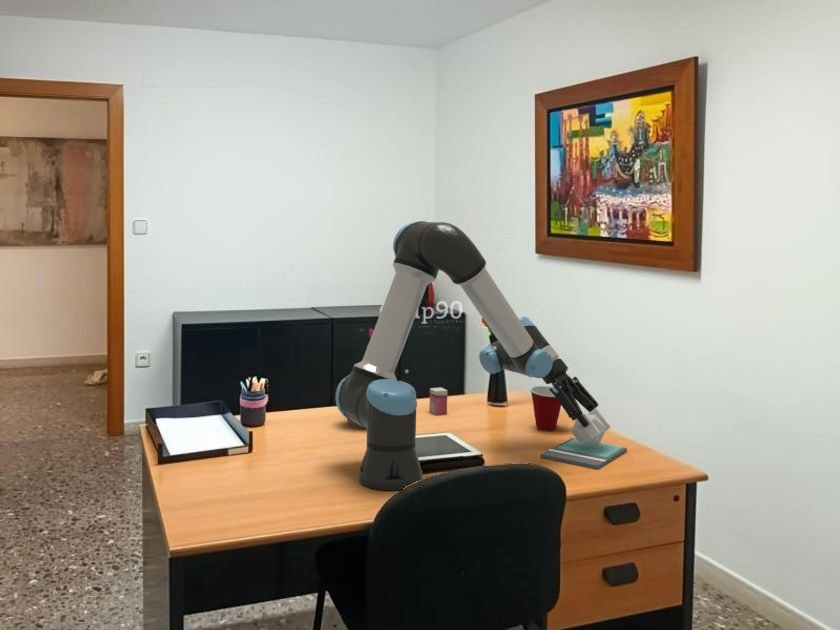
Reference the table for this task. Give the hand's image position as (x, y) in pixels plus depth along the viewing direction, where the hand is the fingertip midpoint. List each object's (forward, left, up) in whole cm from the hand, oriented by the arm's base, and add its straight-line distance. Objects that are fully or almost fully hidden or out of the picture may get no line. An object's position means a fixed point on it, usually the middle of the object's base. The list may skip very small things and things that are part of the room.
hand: (601, 432), depth 217 cm
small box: (+10, +60, -6) cm, 61 cm away
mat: (-3, +4, -6) cm, 8 cm away
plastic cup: (+15, +24, -6) cm, 29 cm away
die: (0, +4, -4) cm, 5 cm away
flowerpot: (-16, +69, -6) cm, 71 cm away
